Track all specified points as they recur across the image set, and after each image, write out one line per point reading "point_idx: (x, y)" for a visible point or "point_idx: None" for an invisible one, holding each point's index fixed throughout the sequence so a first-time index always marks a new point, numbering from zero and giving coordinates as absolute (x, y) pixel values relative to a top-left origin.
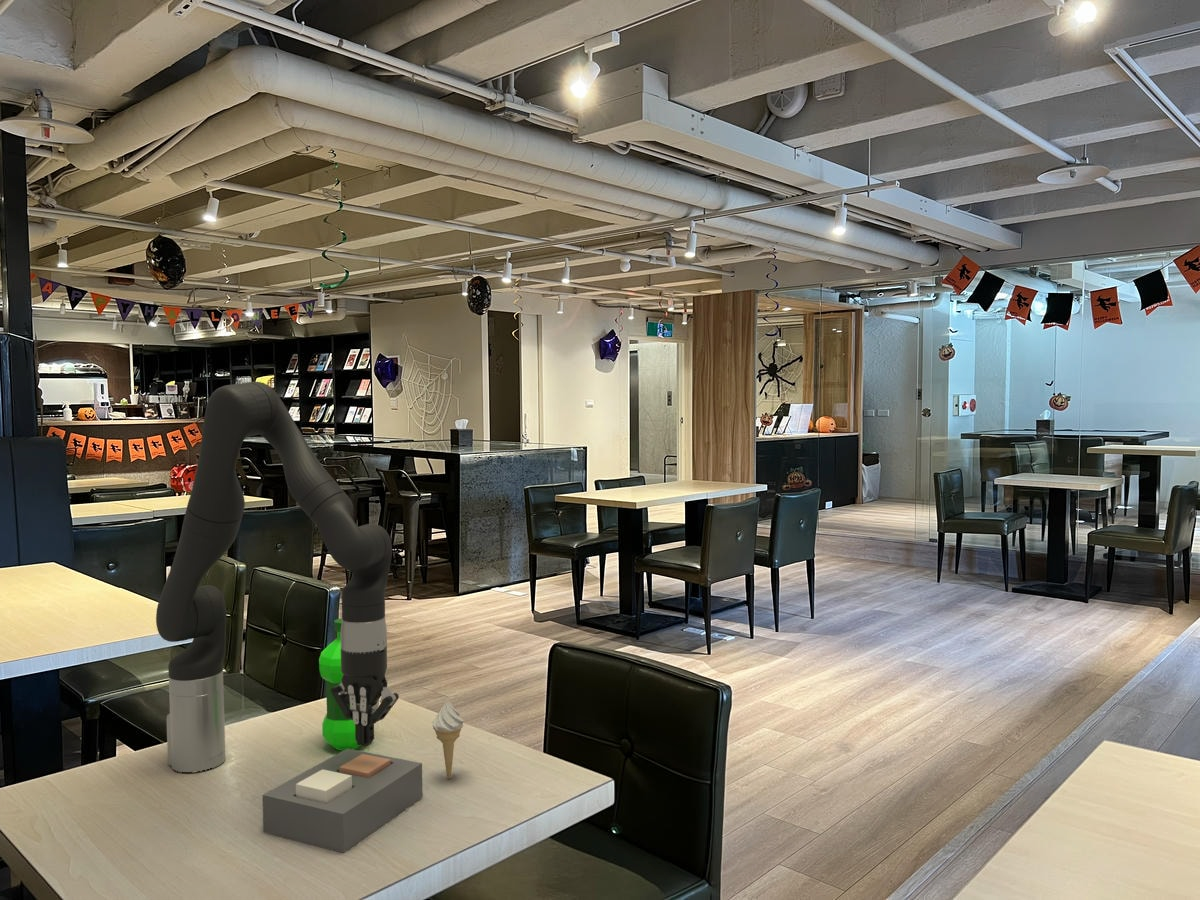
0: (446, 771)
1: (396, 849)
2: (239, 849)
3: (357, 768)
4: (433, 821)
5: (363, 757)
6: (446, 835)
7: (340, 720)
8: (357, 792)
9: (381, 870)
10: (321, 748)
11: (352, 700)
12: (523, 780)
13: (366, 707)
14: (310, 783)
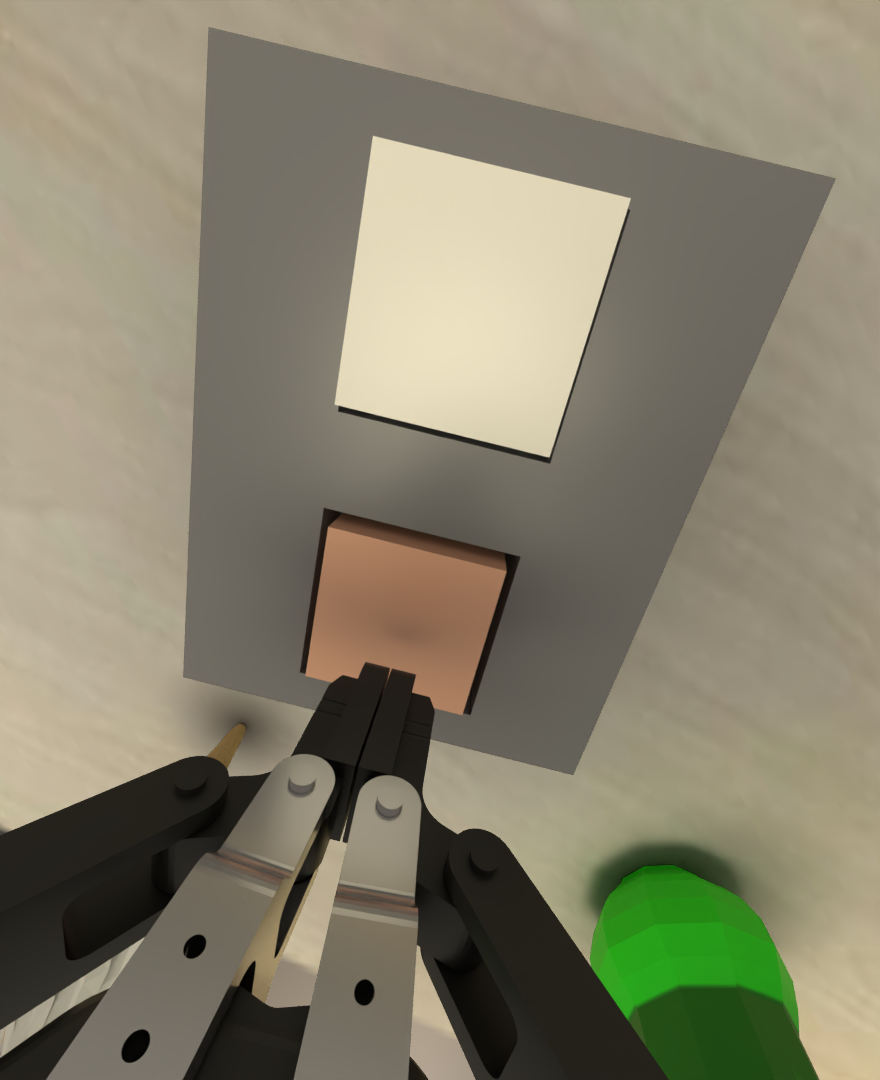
0: (234, 740)
1: (130, 226)
2: (769, 52)
3: (407, 569)
4: (131, 458)
5: (439, 682)
6: (35, 370)
7: (712, 986)
8: (288, 338)
9: (84, 34)
10: (743, 874)
11: (356, 1065)
12: (41, 735)
13: (157, 921)
14: (533, 235)
